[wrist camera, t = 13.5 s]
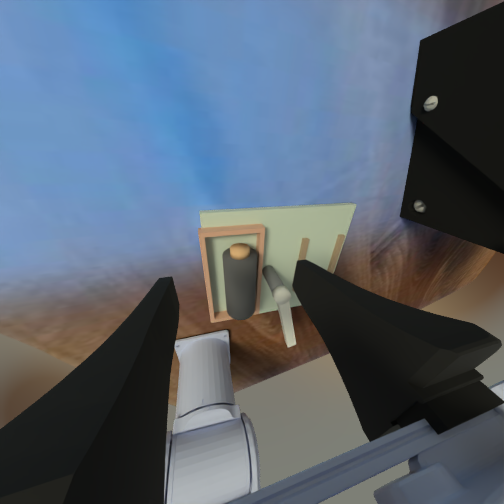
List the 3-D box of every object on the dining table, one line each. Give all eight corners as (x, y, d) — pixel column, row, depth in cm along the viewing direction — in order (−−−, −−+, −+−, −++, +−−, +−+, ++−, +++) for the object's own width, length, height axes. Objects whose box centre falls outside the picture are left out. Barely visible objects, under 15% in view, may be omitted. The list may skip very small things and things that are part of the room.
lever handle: (283, 341, 25) (286, 348, 24) (270, 288, 19) (274, 295, 18) (294, 337, 25) (298, 343, 24) (286, 283, 19) (290, 289, 18)
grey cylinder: (248, 298, 25) (259, 318, 22) (223, 306, 24) (232, 328, 21) (249, 237, 20) (263, 252, 17) (217, 243, 19) (228, 260, 16)
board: (321, 297, 30) (339, 320, 26) (211, 318, 26) (213, 349, 22) (351, 202, 22) (385, 215, 18) (196, 210, 17) (195, 230, 14)
